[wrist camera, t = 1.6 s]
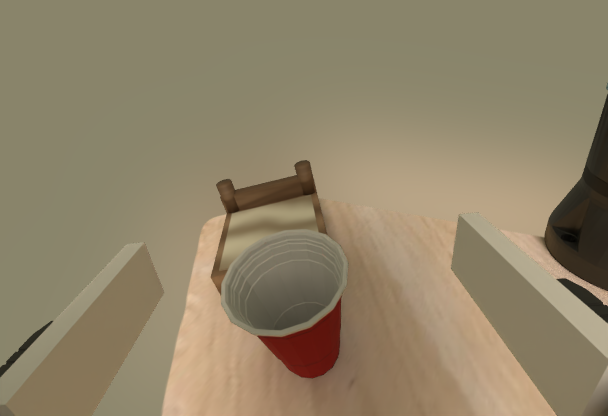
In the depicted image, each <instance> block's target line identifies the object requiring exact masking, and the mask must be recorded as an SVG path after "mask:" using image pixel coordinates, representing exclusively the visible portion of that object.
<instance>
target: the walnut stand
mask: <svg viewBox="0 0 608 416" xmlns="http://www.w3.org/2000/svg"><path fill="white" fill-rule="evenodd" d="M295 170H296V173H297V175H295V176H292V177H287V178H283V179H279V180H275V181H271V182H266V183H262V184H258V185H254V186H250V187H246V188H242V189H237V190H235V189H234V186H233V184H232V181H231V180H230V179H226V180H222V181H220V182H218V183H217V184H216V186H217V188H218V191H219V193H220V195H221V197H220V198H221V201H222V203H223V205H224V207H225V210H226V212H227V215H226V219H225V223H224V227H223V231H222V235H221V239H220V243H219V247H218V251H217V255H216V259H215V263H214V267H213V270H212V274H211V278H212V280H213V282H214V284H215V286H216V288H217V289H218V291H219V293H220V295H221V284H222V281H223V279H224V277H225V275H226V273H227V271H228V269H229V266H230V264H231V263H232V262H233V261H234V260H235V259H236V258H237V257H238V256H239V255H240V254H241V253H242V252H243V251H244V249H245V248H247V247H249V246H250V245H252V244H253V243H255V242H257V241H258V240H260V239H262V238H263V237H265V236H268V235H271V234H275V233H278V232H281V231H284V230H298V229H308V230H312V231H315V232H319V233H323V234H326V235H327V232H326V228H325V224H324V220H323V216H322V212H321V208H320V204H319V200H318V196H317V192H316V187H315V184H314V179H313V175H312V170H311V166H310V162H309V161H307V160H305V161H300V162H297V163H296V164H295Z"/></svg>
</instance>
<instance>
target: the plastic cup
mask: <svg viewBox="0 0 608 416" xmlns="http://www.w3.org/2000/svg"><path fill="white" fill-rule="evenodd" d="M347 275H348V261H347V259H346V256H345V254H344V252H343V250H342V248H341V246H340V245H339V244H338V243H336V242H335V241H334V240H332V239H331V238H330V237H328V236H327V235H326V234H323V233H319V232H315V231H312V230H308V229H298V230H284V231H281V232H278V233H275V234H271V235H268V236H265V237H263V238H262V239H260V240H258V241H257V242H255V243H253V244H252V245H250V246H249V247H247V248H245V249H244V251H243V252H242V253H241V254H240V255H239V256H238V257H237V258H236V259H235V260H234V261H233V262H232V263H231V264H230V266H229V269H228V271H227V273H226V275H225V277H224V279H223V281H222V284H221V305H222V307H223V308H224V310H225V312H226V314H227V316H228V317H229V319H230V321H231V322H232V323H233V324H235V325H237V326H239V327H241V328H242V329H244V330H246V331H248V332H249V333H251V334H253V335H257V336H258V337H259V338H260V339H261V341H262V342H263V343H264V344H265V345H266V346H267V347H268V348H269V349H270V350H271V351H272V352H273V354H274V355H275V356H276V357H277V358H278V359H280V360H281V361H282V362H283V363H284V364H285V365H286V367H287V368H288V369H289V370H290V371H292V372H293V373H295V374H297V375H299V376H300V377H305V378H315V377H318V376H321V375H324V374H325V373H326V372H327V371H328V370H330V369H331V368H332V367H333V365H334V363H335V362H336V360H337V358H338V354H339V347H340V328H341V296H342V294H343V292H344V290H345V288H346V286H347Z"/></svg>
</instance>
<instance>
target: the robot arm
mask: <svg viewBox="0 0 608 416" xmlns="http://www.w3.org/2000/svg"><path fill="white" fill-rule="evenodd" d="M606 89H607V90H608V83H607V87H606ZM545 242H546V245H547V247H548V249H549V251H550V252H551V254H552V255H553V256H554V257H555V258H556V260H557V261H558V262H560V263H561V264H562V265H563V266H564V267H566V268H567V269H568V270H570V271H571V272H572V273H574V274H576V275H577V276H579V277H581V278H582V279H584V280H586V281H588V282H590V283H592V284H594V285H596V286H598V287H601V288H603V289H605V290H608V95H607V98H606V101H605V105H604V108H603V111H602V114H601V117H600V121H599V124H598V127H597V131H596V133H595V137H594V140H593V143H592V146H591V149H590V152H589V155H588V158H587V162H586V165H585V168H584V172H583V174H582V177H581V179H580V180H579V181H578V182H577V184H576V185H575V186H574V188H572V190H571V191H570V192H569V193H568V194H567V196H566V197H565V198H564V199H563V200H562V201H561V203H560V204H559V205H558V206H557V207H556V208H555V210H554V211H553V212H552V214H551V216H550V217H549V220H548V224H547V228H546V231H545ZM451 269H452V271H453V272H454V273H455V275H456V276H457V278H458V279H459V280H460V282H461V283H462V285H463V286H464V287H465V289H466V290H467V291H468V293H469V294H470V296H471V297H472V298H473V300H474V301H475V303H476V304H477V305H478V307H479V308H480V309H481V311H482V312H483V314H484V315H485V316H486V318H487V319H488V321H489V322H490V323H491V325H492V326H493V327H494V329H495V330H496V332H497V333H498V334H499V336H500V337H501V339H502V340H503V341H504V343H505V344H506V345H507V347H508V348H509V350H510V351H511V352H512V354H513V355H514V357H515V358H516V359H517V361H518V362H519V363H520V365H521V366H522V368H523V369H524V370H525V372H526V373H527V375H528V376H529V377H530V379H531V380H532V382H533V383H534V384H535V386H536V387H537V388H538V390H539V391H540V393H541V394H542V395H543V397H544V398H545V400H546V401H547V402H548V404H549V405H550V406H551V408H552V409H553V411H554V412H555V413H556V415H557V416H608V306H607V305H603V302H602V301H601V300H599V299H598V298H597V297H596V296H594V295H593V294H592V293H591V292H589V291H588V290H587V289H585V288H583V287H581V286H579V285H577V284H575V283H573V282H572V281H570V280H568V279H566V278H564V279H555V278H554V277H553V276H552V275H550V274H549V273H548V272H547V271H546V270H545V269H543V268H542V267H541V266H540V265H539V264H538V263H536V262H535V261H534V260H533V259H532V258H531V257H529V256H528V255H527V254H526V253H525V252H524V251H522V250H521V249H520V248H519V247H518V246H517V245H515V244H514V243H513V242H512V241H511V240H510V239H508V238H507V237H506V236H505V235H504V234H503V233H501V232H500V231H499V230H498V229H497V228H496V227H494V226H493V225H492V224H491V223H490V222H489V221H487V220H486V219H485V218H484V217H483V216H482V215H480V214H479V213H467V214H459V218H458V225H457V231H456V238H455V245H454V251H453V258H452V265H451ZM163 294H164V290H163V288H162V285H161V283H160V280H159V278H158V275H157V273H156V270H155V268H154V265H153V263H152V260H151V258H150V255H149V252H148V250H147V247H146V245H145V243H144V242H143V243H132V244H126V245H125V247H124V248H123V249H122V250H121V251H120V252H119V253H118V254H117V255H116V256H115V257H114V258H113V259H112V260H111V261H110V262H109V263H108V265H106V267H105V268H104V269H103V270H102V271H101V272H100V273H99V274H98V275H97V276H96V277H95V278H94V279H93V280H92V281H91V282H90V284H88V286H87V287H86V288H85V289H84V290H83V291H82V292H81V293H80V294H79V295H78V296H77V297H76V298H75V299H74V300H73V301H72V302H71V303H70V305H69V306H68V307H67V308H66V309H65V310H64V311H63V312H62V313H61V314H60V315H59V316H58V317H57V319H55V320H54V321H51V322H49V323H48V324H47V325H45V326H44V327H42V328H41V329H40V330H38V331H37V332H35V333H34V334H33V335H32V336H31V337H30V338H29V339H28V340H27V341H26V342H25V343H24V344H23V345H22V346H21V347H20V348H19V351H18V352H15V353H14V354H13V355H12V356H11V357H10V358H9V359H8V360H7V361H6V362H7V363H6V365H2V366H1V367H0V416H92V415H93V413H94V411H95V409H96V408H97V406H98V404H99V403H100V401H101V399H102V398H103V396H104V394H105V392H106V391H107V389H108V387H109V385H110V384H111V382H112V380H113V379H114V377H115V375H116V374H117V372H118V370H119V368H120V367H121V365H122V364H123V362H124V360H125V358H126V357H127V355H128V353H129V352H130V350H131V348H132V347H133V345H134V343H135V341H136V340H137V338H138V336H139V334H140V333H141V331H142V329H143V328H144V326H145V324H146V323H147V321H148V319H149V318H150V316H151V314H152V312H153V311H154V309H155V307H156V306H157V304H158V302H159V300H160V299H161V297H162V296H163Z"/></svg>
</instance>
